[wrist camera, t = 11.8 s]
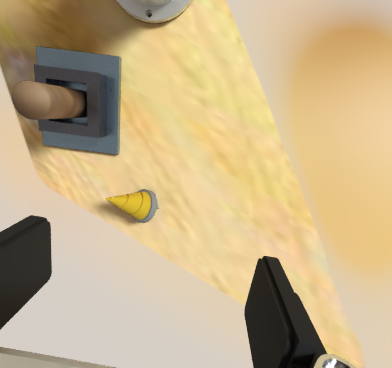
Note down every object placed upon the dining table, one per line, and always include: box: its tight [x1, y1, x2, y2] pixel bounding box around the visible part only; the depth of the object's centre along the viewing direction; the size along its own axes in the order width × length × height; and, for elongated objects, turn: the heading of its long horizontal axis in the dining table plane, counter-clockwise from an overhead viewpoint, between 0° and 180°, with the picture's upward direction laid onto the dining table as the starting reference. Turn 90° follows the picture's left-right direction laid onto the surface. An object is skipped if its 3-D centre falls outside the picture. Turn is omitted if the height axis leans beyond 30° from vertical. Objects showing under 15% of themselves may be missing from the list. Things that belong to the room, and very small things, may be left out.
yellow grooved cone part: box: [106, 189, 158, 223], centre depth 36 cm, size 5×5×10 cm
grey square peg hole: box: [34, 46, 121, 154], centre depth 34 cm, size 14×12×4 cm
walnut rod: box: [12, 81, 87, 120], centre depth 30 cm, size 4×4×10 cm
